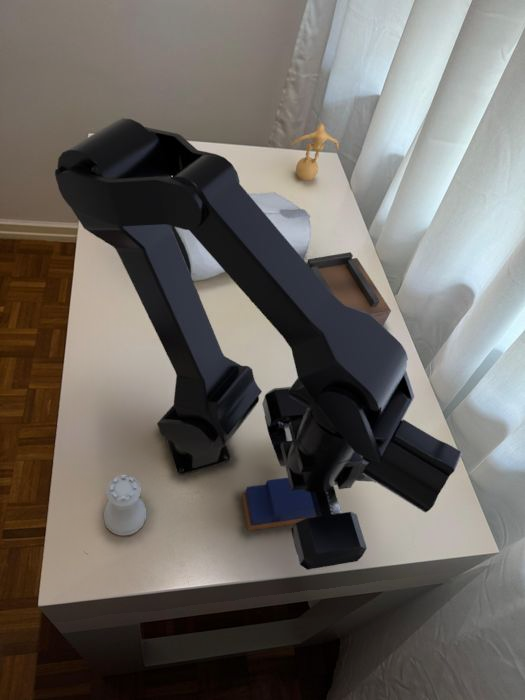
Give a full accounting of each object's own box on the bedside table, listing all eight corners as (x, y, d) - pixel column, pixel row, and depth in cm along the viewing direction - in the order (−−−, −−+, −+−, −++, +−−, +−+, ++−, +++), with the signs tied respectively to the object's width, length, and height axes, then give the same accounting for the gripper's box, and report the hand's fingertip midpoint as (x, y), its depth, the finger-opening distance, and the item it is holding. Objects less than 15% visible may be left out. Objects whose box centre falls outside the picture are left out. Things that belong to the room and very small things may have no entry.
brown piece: (382, 328, 85) (395, 303, 81) (319, 342, 82) (329, 317, 77) (349, 275, 91) (360, 249, 87) (289, 286, 87) (297, 260, 83)
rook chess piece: (131, 489, 64) (129, 457, 58) (154, 520, 63) (155, 490, 56) (95, 513, 62) (90, 482, 56) (119, 545, 60) (116, 517, 54)
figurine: (325, 173, 107) (342, 114, 97) (329, 194, 103) (348, 134, 94) (281, 168, 105) (295, 108, 96) (284, 189, 102) (298, 128, 92)
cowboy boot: (158, 258, 75) (329, 241, 83) (120, 122, 88) (272, 119, 96) (155, 301, 83) (311, 282, 91) (121, 171, 96) (261, 164, 104)
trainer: (315, 487, 68) (324, 471, 65) (324, 519, 66) (333, 505, 63) (241, 496, 66) (246, 481, 63) (247, 530, 64) (253, 516, 60)
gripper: (444, 521, 49) (384, 574, 62) (377, 348, 60) (337, 423, 72) (323, 540, 47) (285, 591, 59) (274, 355, 57) (251, 431, 69)
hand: (293, 501), depth 65 cm, fingers open, 9 cm apart
